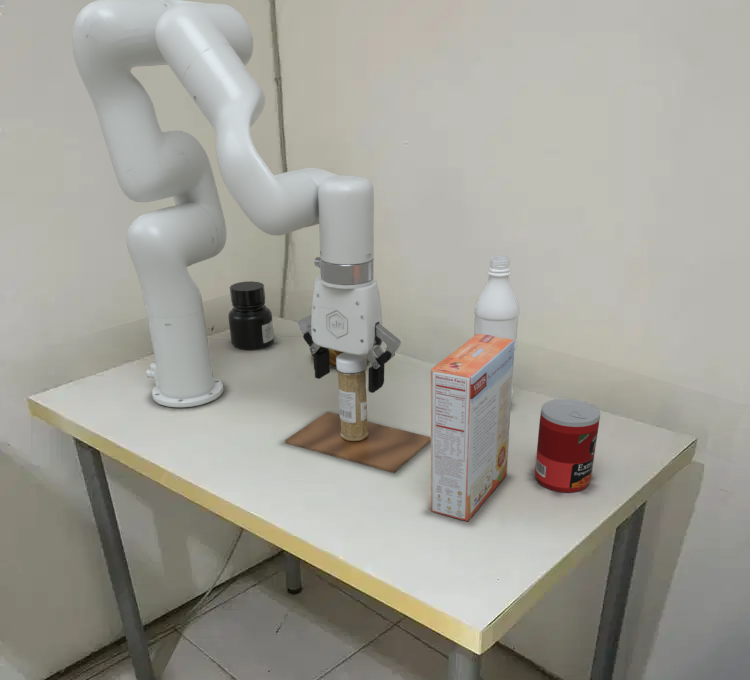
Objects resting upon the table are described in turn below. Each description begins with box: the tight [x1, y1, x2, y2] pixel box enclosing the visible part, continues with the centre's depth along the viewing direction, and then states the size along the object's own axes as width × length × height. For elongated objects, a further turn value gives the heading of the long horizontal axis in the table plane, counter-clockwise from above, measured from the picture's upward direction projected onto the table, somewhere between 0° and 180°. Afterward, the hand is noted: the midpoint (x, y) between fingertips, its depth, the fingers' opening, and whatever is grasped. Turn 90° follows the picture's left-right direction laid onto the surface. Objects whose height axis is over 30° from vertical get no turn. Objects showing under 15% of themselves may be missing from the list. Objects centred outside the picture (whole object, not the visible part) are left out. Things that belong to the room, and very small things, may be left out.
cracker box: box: [430, 334, 515, 522], centre depth 102 cm, size 14×6×21 cm, turn 150°
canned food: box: [534, 398, 601, 493], centre depth 108 cm, size 8×8×11 cm
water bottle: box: [473, 255, 520, 401], centre depth 126 cm, size 7×7×25 cm
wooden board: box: [284, 411, 431, 474], centre depth 122 cm, size 20×12×1 cm, turn 59°
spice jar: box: [336, 353, 368, 442], centre depth 119 cm, size 5×5×14 cm
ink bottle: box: [227, 281, 275, 351], centre depth 158 cm, size 10×9×12 cm
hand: (348, 382), depth 118 cm, fingers open, 9 cm apart
